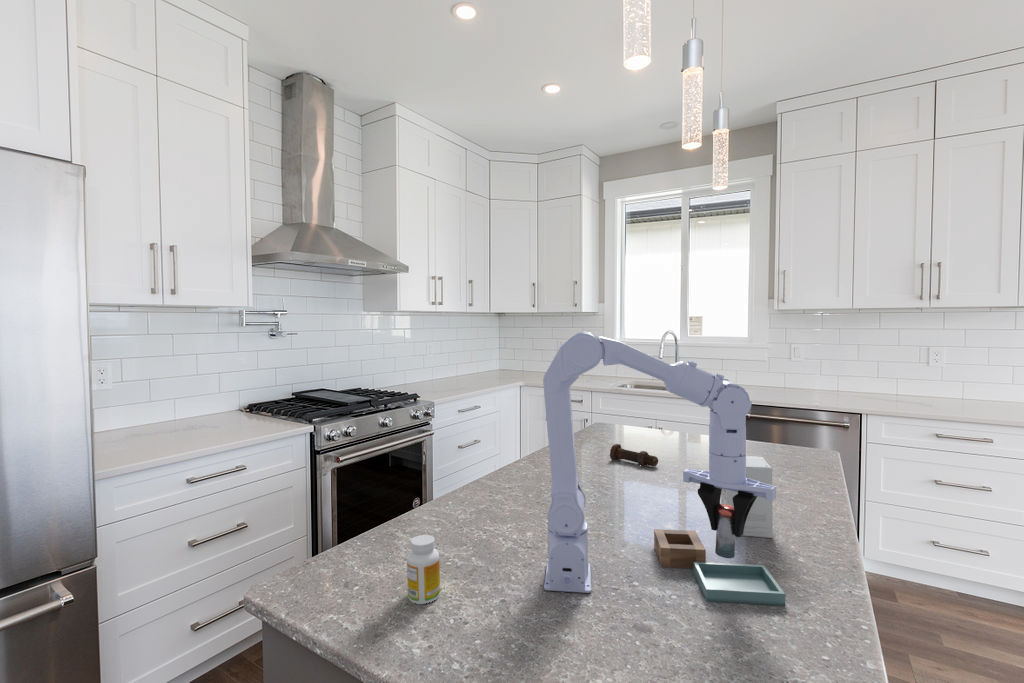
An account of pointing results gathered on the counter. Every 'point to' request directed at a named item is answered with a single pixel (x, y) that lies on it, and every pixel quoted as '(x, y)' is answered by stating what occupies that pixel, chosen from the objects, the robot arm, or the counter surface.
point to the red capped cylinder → (725, 531)
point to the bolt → (633, 456)
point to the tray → (738, 583)
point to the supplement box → (761, 510)
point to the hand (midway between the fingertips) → (727, 531)
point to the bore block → (678, 548)
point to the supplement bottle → (423, 570)
